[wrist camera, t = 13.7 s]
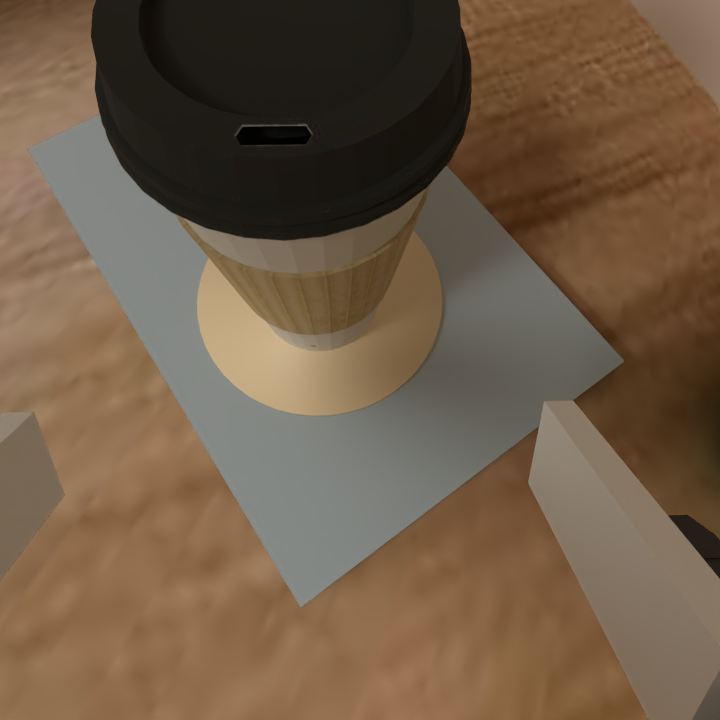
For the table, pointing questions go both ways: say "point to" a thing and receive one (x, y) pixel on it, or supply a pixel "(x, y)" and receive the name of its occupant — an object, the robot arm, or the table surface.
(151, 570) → the table surface
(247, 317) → the gear board
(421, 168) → the coffee cup
